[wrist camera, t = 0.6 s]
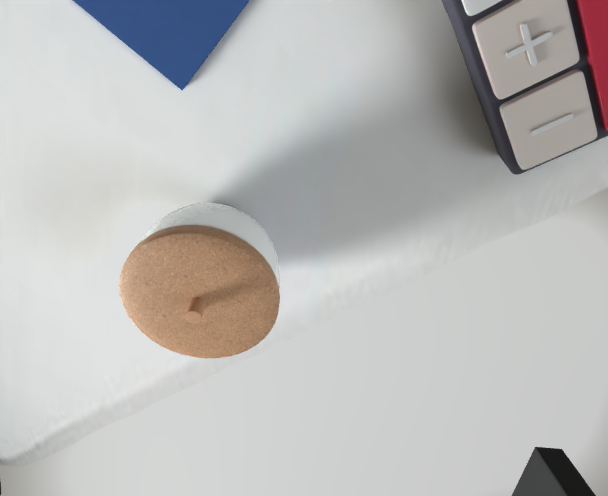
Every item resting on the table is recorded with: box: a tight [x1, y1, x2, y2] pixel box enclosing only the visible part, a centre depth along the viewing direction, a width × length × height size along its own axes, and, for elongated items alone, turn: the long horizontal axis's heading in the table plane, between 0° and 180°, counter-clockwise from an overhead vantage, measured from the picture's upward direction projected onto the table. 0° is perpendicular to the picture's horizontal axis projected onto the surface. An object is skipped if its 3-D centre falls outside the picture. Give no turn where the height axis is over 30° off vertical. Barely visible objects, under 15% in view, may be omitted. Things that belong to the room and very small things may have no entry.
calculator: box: [442, 0, 608, 174], centre depth 28 cm, size 11×4×15 cm
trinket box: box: [119, 203, 280, 358], centre depth 35 cm, size 11×11×9 cm
